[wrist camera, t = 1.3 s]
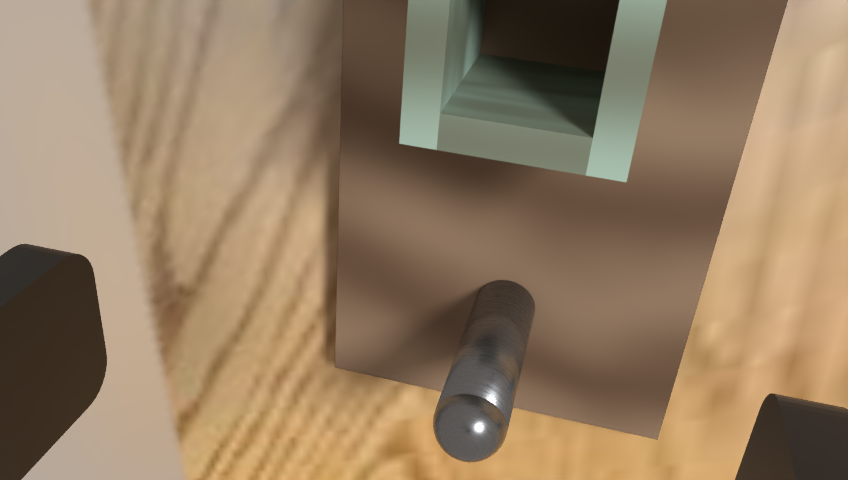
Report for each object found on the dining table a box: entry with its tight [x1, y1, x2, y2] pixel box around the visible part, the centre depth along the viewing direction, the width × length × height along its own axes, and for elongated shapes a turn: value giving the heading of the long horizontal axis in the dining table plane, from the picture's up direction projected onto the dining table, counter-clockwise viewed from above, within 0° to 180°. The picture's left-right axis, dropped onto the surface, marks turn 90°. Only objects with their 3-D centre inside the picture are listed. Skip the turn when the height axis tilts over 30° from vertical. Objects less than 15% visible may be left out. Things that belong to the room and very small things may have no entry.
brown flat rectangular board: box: [335, 0, 788, 439], centre depth 29 cm, size 22×14×1 cm, turn 176°
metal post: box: [433, 280, 535, 462], centre depth 28 cm, size 2×2×8 cm
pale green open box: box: [399, 0, 667, 182], centre depth 23 cm, size 6×6×6 cm
